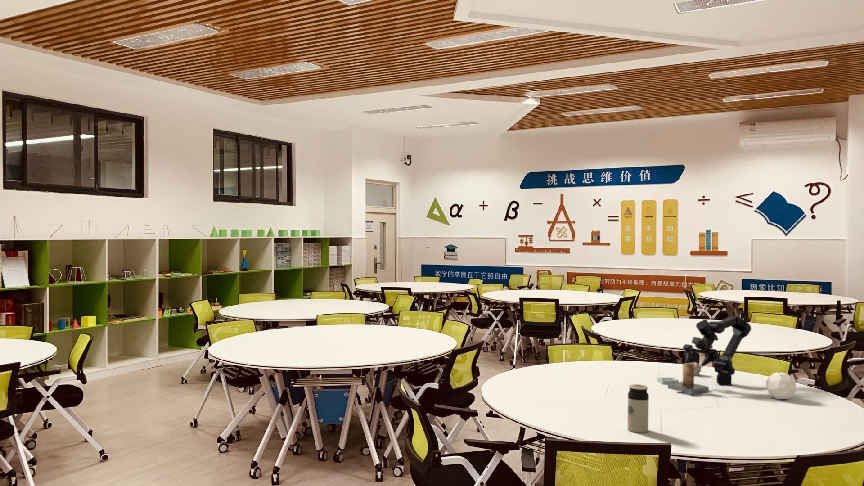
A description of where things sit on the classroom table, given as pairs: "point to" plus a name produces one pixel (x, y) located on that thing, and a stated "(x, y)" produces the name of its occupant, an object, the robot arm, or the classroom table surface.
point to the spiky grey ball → (696, 368)
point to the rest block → (667, 380)
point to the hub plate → (689, 388)
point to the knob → (688, 374)
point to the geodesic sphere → (781, 386)
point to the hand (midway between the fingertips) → (693, 364)
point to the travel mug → (638, 408)
